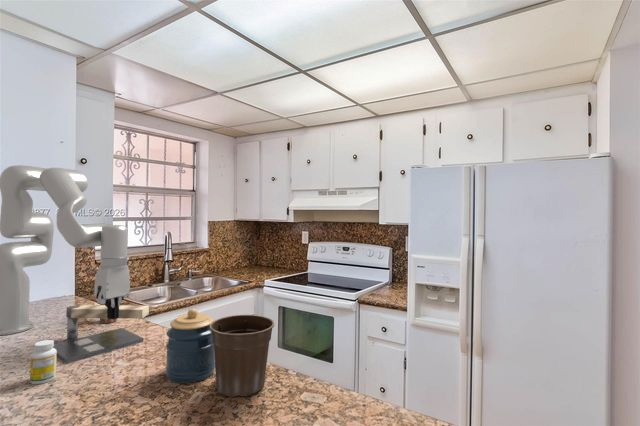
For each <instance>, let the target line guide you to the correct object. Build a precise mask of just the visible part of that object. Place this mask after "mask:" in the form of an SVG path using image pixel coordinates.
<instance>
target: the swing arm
mask: <svg viewBox="0 0 640 426" xmlns="http://www.w3.org/2000/svg"><path fill="white" fill-rule="evenodd" d="M149 311H150V305H127V304H126V305H125V304H121V305H120V306H119V318H118V319H137V320H138V319H142V320H143V319H144V318H146V316H149V315H150V312H149ZM65 312H66V313H65V314H66V318H68V317H69V318H70V317H71V318H78V319H100V318H107V307H106V306H105V305H100V304H99V305H98V304H95V305H93V304H92V305H90V304H83V305H82V304H80V305H71V306H67V307H66V311H65Z"/></svg>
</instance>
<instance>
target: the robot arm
mask: <svg viewBox="0 0 640 426" xmlns="http://www.w3.org/2000/svg"><path fill="white" fill-rule="evenodd" d="M88 186H89V181H88V178H87V176H86V175H85V173H83V172H82V171H80V170H76V169H70V168H63V167H62V168H61V167H47V168H45V167H40V166H39V167H38V166H32V165H10V166H8V167H6V168H5V169H4V170H3V171H2V172H1V173H0V195H1V206H0V234H1V236H2V237H3V238H6V239H11V240H12V239H14V240H17V239H30V240H28V241H27V240H26V241H11V242H4V243H0V336H5V335H13V334H17V333H21V332H25V330H26V331H29V330H31V329H32V328H33V327H34V326H35V323H34V322H33V321H31V320H30V290H31V289H30V288H31V287H30V282H31V281H30V277H29V275H28V274H27V272H26V271H25V270H24V269H23V268H27V267H35V266H42V265H44V264H47V263H48V262H49V260H51V257H52V254H53V253H52V252H53V243H54V231H55V225H54V221H53V219H52V217H51V216H50V215H49V214H47V213H44V212H34V211H33V207H34V206H33V205H34V201H33V198H32V196H31V195H30V193H29V192H28V191H37V192H38V191H39V192H46V193H47V195H48V196H49V197H50V198H51V200H52V201H53V203H54V204H55V205H56V207H57V208H58V211H57V213H56V219H55V221H56V227H57V230H58V232H59V233H60V234H61V236H62V238H64V240H65V242H67V243H68V244H69V246H71V247H73V248H78V249H82V248H91V247H100V267H98V268H97V271H96V275H95V279H94V294H93V296H94V297H93V298H95V299H97V300H96V303H97V305H98V304H99V305H100V304H104V305H105V306H106V307H107V318H108V319H117V320H118V319H120V318H119V306H120V305H122V302H123V300H124V299H126V298H127V297H129V293H130V292H131V278H130V277H131V276H130V275H131V274H130V268H129V265H128V261H129V257H128V237H129V235H128V228H127V226H126V225H122V224H121V225H120V224H114V225H113V224H109V223H108V224H107V223H80V222H79V221H78V219H77V218H76V216H75V215H74V213H77V212H78V211H81V210H82V209H83V208H84V207H85V206H86V204H87V197H86V196H85V194H84V192H85V191H86V190H87V189H88ZM104 299H105V300H104ZM109 300H110V301H109ZM30 328H31V329H30ZM28 329H29V330H28Z"/></svg>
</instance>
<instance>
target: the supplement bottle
mask: <svg viewBox="0 0 640 426" xmlns="http://www.w3.org/2000/svg"><path fill="white" fill-rule="evenodd" d="M54 344H55V341H54V340H52V339H45V340H41V341H37V342H35V343H34V345H33V349H34V351H33V352H32V353H31V354H30V367H29V373H30V374H29V382H30V383H31V384H32V385H41V384H46V383H49V382H51V381H53V380H54V379H55V378H56V377H57V360H58V359H57V358H58V357H57V350H56V349H55V348H53V346H54Z"/></svg>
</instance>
